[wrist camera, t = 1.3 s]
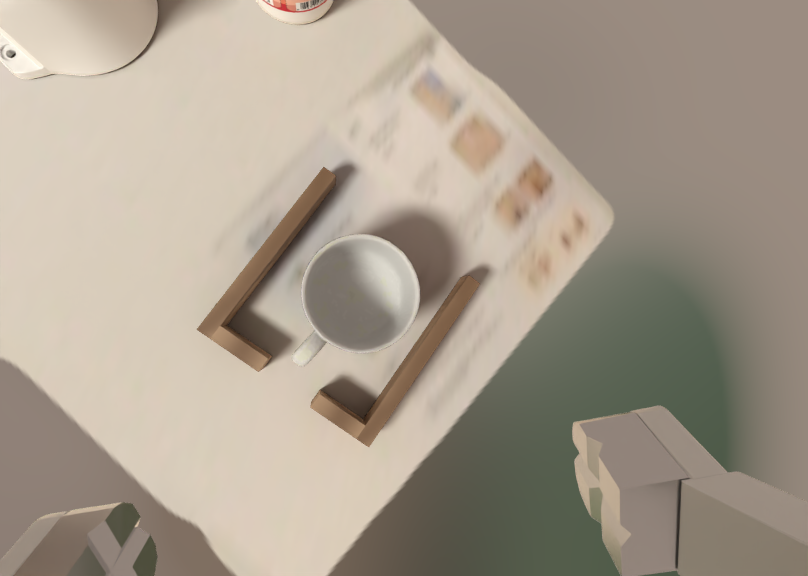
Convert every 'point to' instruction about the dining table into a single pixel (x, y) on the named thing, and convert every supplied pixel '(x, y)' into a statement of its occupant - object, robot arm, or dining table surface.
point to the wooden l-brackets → (258, 358)
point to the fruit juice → (295, 10)
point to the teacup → (357, 296)
